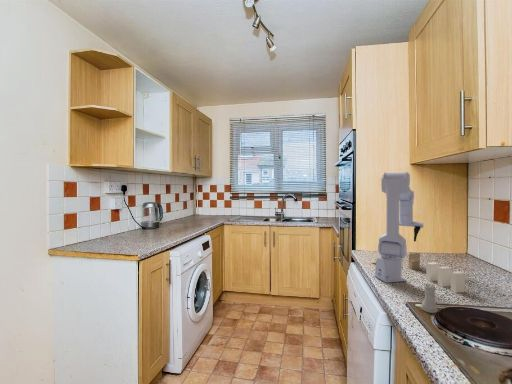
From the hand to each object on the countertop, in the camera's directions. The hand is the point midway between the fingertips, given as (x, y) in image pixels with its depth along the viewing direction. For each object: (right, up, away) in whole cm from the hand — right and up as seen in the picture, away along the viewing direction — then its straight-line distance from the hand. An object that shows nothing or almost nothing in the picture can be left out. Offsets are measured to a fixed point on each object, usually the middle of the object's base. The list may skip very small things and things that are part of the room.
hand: (406, 239), depth 136 cm
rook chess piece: (-21, -13, -51) cm, 57 cm away
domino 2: (-4, -12, -26) cm, 29 cm away
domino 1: (-3, -11, -11) cm, 16 cm away
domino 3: (-3, -12, -31) cm, 34 cm away
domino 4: (-2, -12, -37) cm, 39 cm away
